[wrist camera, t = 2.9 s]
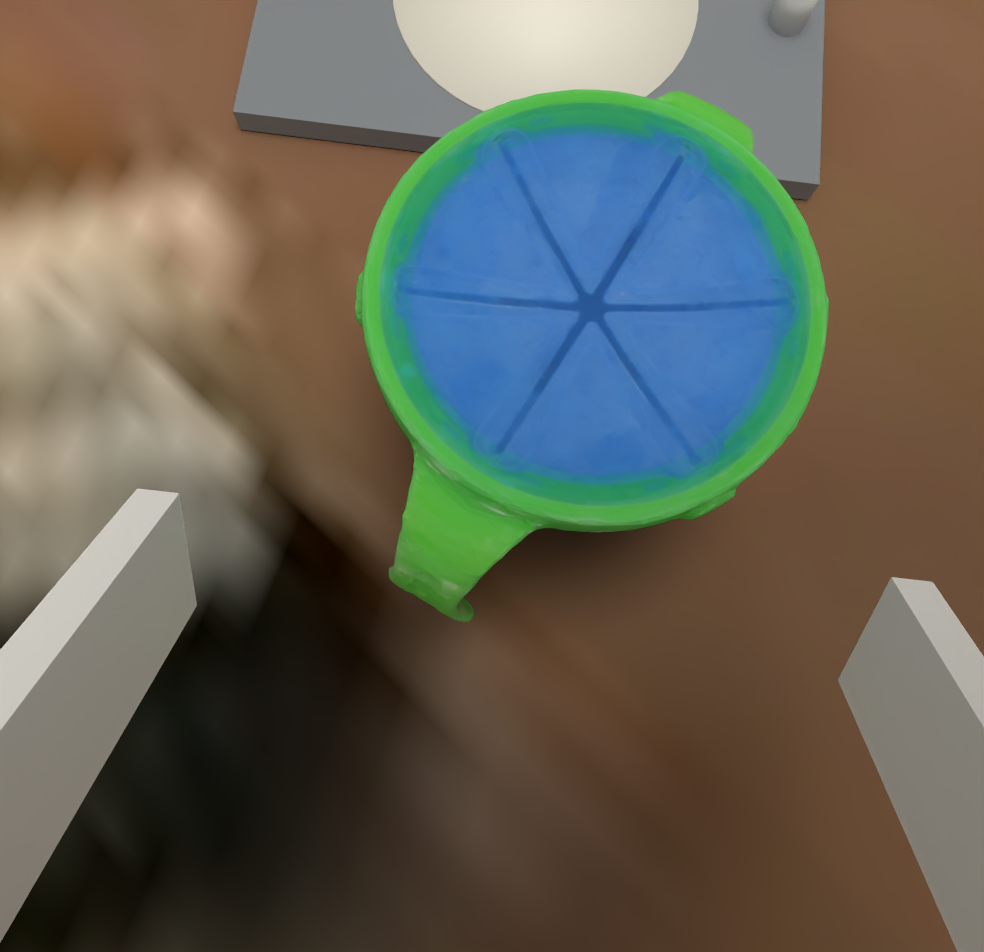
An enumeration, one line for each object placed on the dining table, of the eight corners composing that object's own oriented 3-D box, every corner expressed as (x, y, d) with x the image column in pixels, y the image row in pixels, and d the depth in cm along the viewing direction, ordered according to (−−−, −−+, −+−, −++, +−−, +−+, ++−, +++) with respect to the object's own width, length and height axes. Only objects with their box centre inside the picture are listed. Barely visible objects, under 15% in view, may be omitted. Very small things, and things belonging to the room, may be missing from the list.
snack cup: (536, 693, 24) (582, 736, 14) (293, 500, 25) (176, 415, 15) (789, 343, 27) (975, 175, 17) (560, 184, 28) (609, -62, 18)
